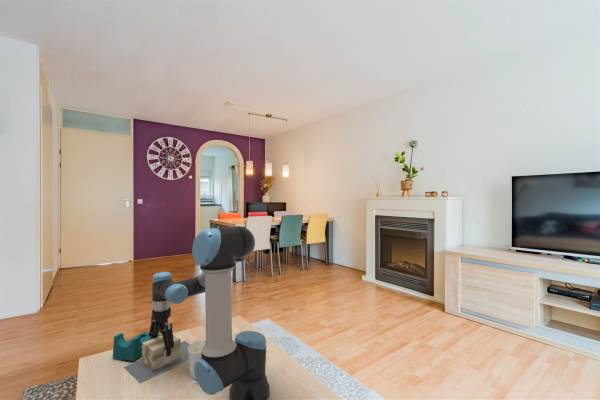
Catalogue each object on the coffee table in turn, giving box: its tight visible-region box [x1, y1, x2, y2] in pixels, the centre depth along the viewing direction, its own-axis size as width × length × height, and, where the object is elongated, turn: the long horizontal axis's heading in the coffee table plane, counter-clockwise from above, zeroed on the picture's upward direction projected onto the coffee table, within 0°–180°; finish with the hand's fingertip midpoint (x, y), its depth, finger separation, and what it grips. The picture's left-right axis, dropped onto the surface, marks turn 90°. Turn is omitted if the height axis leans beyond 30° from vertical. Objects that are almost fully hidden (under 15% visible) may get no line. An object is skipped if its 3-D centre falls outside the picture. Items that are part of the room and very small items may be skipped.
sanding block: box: [141, 334, 182, 372], centre depth 124 cm, size 10×12×9 cm
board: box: [123, 340, 192, 384], centre depth 126 cm, size 16×28×2 cm, turn 143°
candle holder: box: [187, 340, 206, 382], centre depth 118 cm, size 10×10×12 cm
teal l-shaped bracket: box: [112, 331, 162, 362], centre depth 133 cm, size 18×11×10 cm, turn 167°
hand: (160, 357), depth 124 cm, fingers open, 10 cm apart
